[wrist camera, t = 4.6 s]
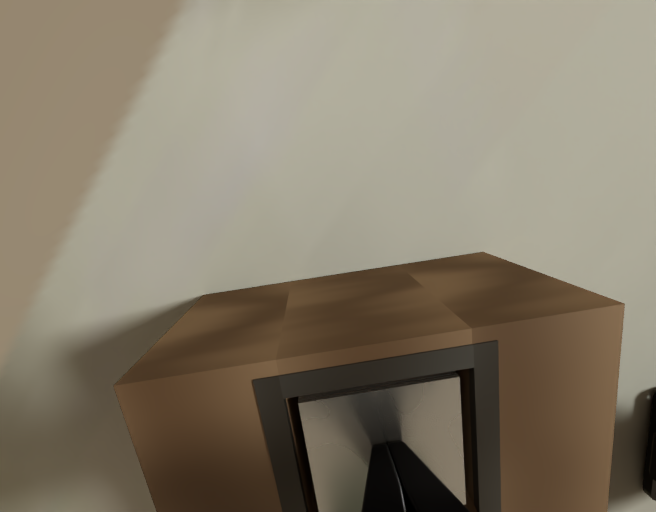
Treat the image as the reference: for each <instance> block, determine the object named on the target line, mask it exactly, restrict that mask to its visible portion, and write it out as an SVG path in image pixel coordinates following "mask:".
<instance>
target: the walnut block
mask: <svg viewBox="0 0 656 512" xmlns="http://www.w3.org/2000/svg"><path fill="white" fill-rule="evenodd" d="M624 306H625V304H624V303H621V302H618V301H615V300H613V299H610V298H607V297H604V296H602V295H599V294H596V293H594V292H591V291H588V290H585V289H583V288H580V287H577V286H575V285H572V284H569V283H566V282H564V281H561V280H558V279H556V278H553V277H550V276H547V275H545V274H542V273H539V272H536V271H534V270H531V269H528V268H526V267H523V266H520V265H517V264H515V263H512V262H509V261H507V260H504V259H501V258H498V257H496V256H493V255H490V254H487V253H485V252H480V253H473V254H467V255H460V256H454V257H447V258H441V259H434V260H428V261H421V262H415V263H408V264H402V265H395V266H389V267H382V268H376V269H369V270H363V271H356V272H350V273H343V274H337V275H330V276H324V277H317V278H311V279H304V280H298V281H291V282H285V283H278V284H272V285H265V286H259V287H252V288H246V289H239V290H233V291H226V292H220V293H213V294H207V295H203V296H202V297H201V298H200V299H199V300H198V301H197V302H196V303H195V304H194V305H193V306H192V307H191V308H190V309H189V310H188V311H187V312H186V313H185V314H184V315H183V316H182V317H181V318H180V319H179V320H178V321H177V322H176V323H175V324H174V325H173V326H172V327H171V328H170V329H169V330H168V331H167V332H166V333H165V334H164V335H163V336H162V337H161V338H160V339H159V340H158V341H157V342H156V343H155V344H154V346H153V347H152V348H151V349H150V350H149V351H148V352H147V353H146V354H145V355H144V356H143V357H142V358H141V359H140V360H139V361H138V362H137V363H136V364H135V365H134V366H133V367H132V368H131V369H130V370H129V371H128V372H127V373H126V374H125V375H124V376H123V377H122V378H121V379H120V380H119V381H118V382H117V383H116V384H115V385H114V389H115V392H116V395H117V398H118V401H119V404H120V407H121V410H122V413H123V415H124V418H125V421H126V424H127V427H128V430H129V433H130V436H131V439H132V442H133V444H134V447H135V450H136V453H137V456H138V459H139V462H140V465H141V468H142V471H143V473H144V476H145V479H146V482H147V485H148V488H149V491H150V494H151V497H152V500H153V502H154V505H155V508H156V511H157V512H319V510H318V505H317V500H316V494H315V489H314V484H313V479H312V473H311V468H310V463H309V458H308V452H307V447H306V442H305V437H304V431H303V426H302V421H301V416H300V411H299V405H298V397H299V396H303V395H310V394H316V393H322V392H328V391H334V390H340V389H346V388H352V387H358V386H365V385H371V384H377V383H383V382H389V381H395V380H401V379H407V378H413V377H419V376H426V375H432V374H438V373H444V372H450V371H455V372H456V373H457V374H458V375H459V377H460V394H461V414H462V433H463V453H464V473H465V493H466V504H465V505H464V506H465V507H466V508H467V509H468V510H469V511H470V512H607V509H608V497H609V485H610V473H611V461H612V449H613V437H614V425H615V413H616V401H617V389H618V377H619V366H620V354H621V342H622V330H623V318H624Z"/></svg>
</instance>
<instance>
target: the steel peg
mask: <svg viewBox="0 0 656 512" xmlns="http://www.w3.org/2000/svg"><path fill="white" fill-rule="evenodd" d="M298 405H299V411H300V416H301V421H302V426H303V431H304V437H305V442H306V447H307V452H308V458H309V463H310V468H311V473H312V479H313V484H314V489H315V494H316V500H317V505H318V510H319V512H361V510H362V504H363V498H364V491H365V485H366V478H367V472H368V465H369V459H370V453H371V448H372V446H373V445H379V444H387V446H388V444H389V443H390V442H396V441H403V442H405V443H406V444H407V445H408V447H409V448H410V449H411V450H412V451H413V452H414V453H415V454H416V455H417V456H418V457H419V458H420V459H421V460H422V461H423V462H424V463H425V464H426V466H427V467H428V468H429V469H430V470H431V471H432V472H433V473H434V474H435V475H436V476H437V477H438V478H439V479H440V480H441V481H442V482H443V483H444V485H445V486H446V487H447V488H448V489H449V490H450V491H451V492H452V493H453V494H454V495H455V496H456V497H457V498H458V499H459V500H460V501H461V502H462V504H463V505H465V504H466V493H465V473H464V453H463V433H462V414H461V394H460V377H459V375H458V374H457V373H456V372H455V371H450V372H444V373H438V374H432V375H426V376H419V377H413V378H407V379H401V380H395V381H389V382H383V383H377V384H371V385H365V386H358V387H352V388H346V389H340V390H334V391H328V392H322V393H316V394H310V395H303V396H299V397H298Z"/></svg>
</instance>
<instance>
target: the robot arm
mask: <svg viewBox="0 0 656 512" xmlns="http://www.w3.org/2000/svg"><path fill="white" fill-rule="evenodd" d="M643 490H644V492H645V493H646V494H647V495H649V496H650V497H651V498H652V499H653V500H655V501H656V394H655V395H654V398H653V404H652V413H651V422H650V430H649V439H648V448H647V456H646V465H645V474H644V482H643ZM361 512H470V511H469V510H468V509H467V508H466V507H465V506H464V505H463V504H462V502H461V501H460V500H459V499H458V498H457V497H456V496H455V495H454V494H453V493H452V492H451V491H450V490H449V489H448V488H447V487H446V486H445V485H444V483H443V482H442V481H441V480H440V479H439V478H438V477H437V476H436V475H435V474H434V473H433V472H432V471H431V470H430V469H429V468H428V467H427V466H426V464H425V463H424V462H423V461H422V460H421V459H420V458H419V457H418V456H417V455H416V454H415V453H414V452H413V451H412V450H411V449H410V448H409V447H408V445H407V444H406V443H405V442H403V441H396V442H390V443H389V444H388V446H387V444H379V445H373V446H372V448H371V453H370V459H369V465H368V472H367V478H366V485H365V491H364V498H363V504H362V510H361Z"/></svg>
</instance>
